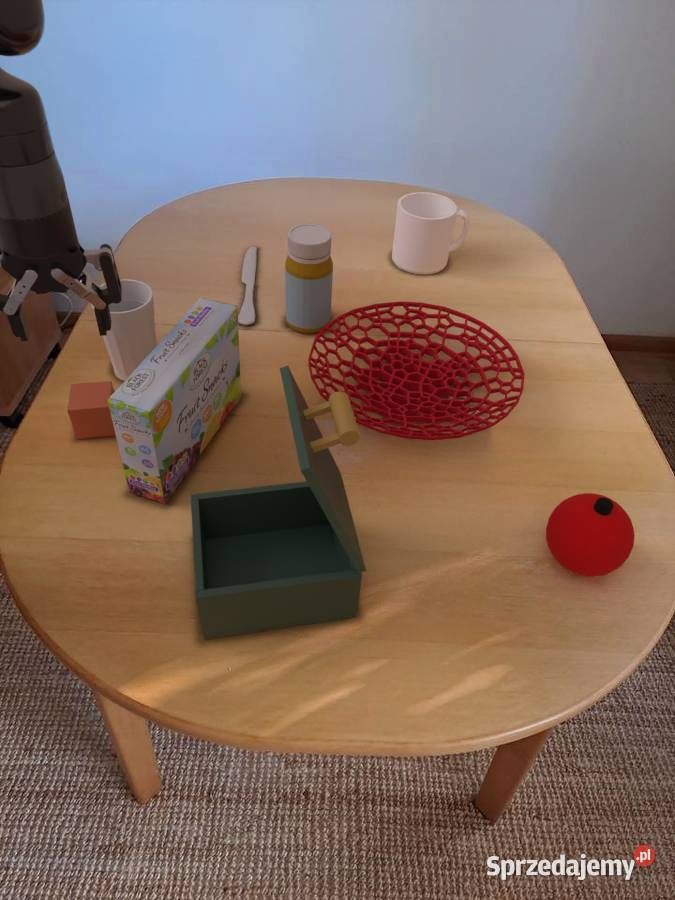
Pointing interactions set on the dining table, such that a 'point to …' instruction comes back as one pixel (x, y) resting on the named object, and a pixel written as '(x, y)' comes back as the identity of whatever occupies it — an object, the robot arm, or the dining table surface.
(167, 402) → the snack box
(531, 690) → the dining table surface
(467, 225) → the mug
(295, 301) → the bottle
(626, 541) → the ornament
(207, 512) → the chest
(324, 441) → the lid
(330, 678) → the dining table surface
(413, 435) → the bowl
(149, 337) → the cup
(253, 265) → the butter knife
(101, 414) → the block
